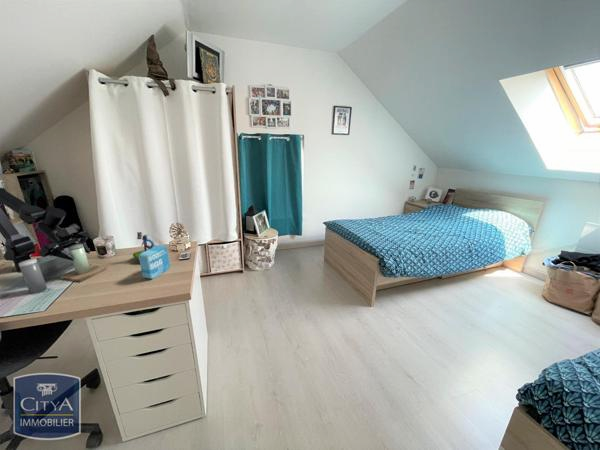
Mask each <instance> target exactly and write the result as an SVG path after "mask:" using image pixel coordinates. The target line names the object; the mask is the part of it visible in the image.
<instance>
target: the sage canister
mask: <svg viewBox="0 0 600 450" xmlns="http://www.w3.org/2000/svg"><path fill="white" fill-rule="evenodd" d="M67 248H68V249H69V252H70V255H71V256H72V257H73V258H74V260H73V264H74V267H75V268H74V270H75V271H76V274H78V275H80V274H85V273H88V272H89V271H90V267H89V265H90V264H89V260H88V258H87V253H86V252H85V250H84V246H83V244H77V243H75V244H70V245H69V246H68V247H67Z"/></svg>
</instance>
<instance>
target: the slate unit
mask: <svg viewBox="0 0 600 450" xmlns="http://www.w3.org/2000/svg"><path fill="white" fill-rule="evenodd" d="M64 250H65V251H66V252H67V253H68V254H70V252H69V249H68V247H66V248H64ZM35 259H37V262H38V264H39V267H40V270H41V273H42V275H43V278H44V281H45V282H46V281H49V280H50V279H52V278H56V277H57V276H61V275H63V274H65V273H68V272H70V271H71V270H73V269H74V270H75V267H74V264H73V261H72V260H68V259H64V258H60V257H56V256H50V255H49V256H46V257H42V256H39V257H37V258H35Z"/></svg>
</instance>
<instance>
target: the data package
mask: <svg viewBox="0 0 600 450" xmlns="http://www.w3.org/2000/svg"><path fill="white" fill-rule="evenodd" d="M146 250H147V251H145V252H143V253H141V254H140V255H139V259H138V260H139V264H140V270H141V275H142V277H143V278H144V279H145V278H146V279H151V280H153V279H155V278H157V277H158V276H160V275H162V274H163V273H164V272H166V271H168V270H169V269H170V267H171V263H170V258H169V252H168V247H167V246H164V245H156V246H155V245H154V246H153V247H152V248H151V249H146Z"/></svg>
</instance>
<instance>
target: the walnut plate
mask: <svg viewBox="0 0 600 450" xmlns="http://www.w3.org/2000/svg"><path fill="white" fill-rule="evenodd" d="M89 267H90V271H89V272H88V273H85V274H80V275H78V274H76V271H75V269H74V270H73V269H72V271H71V270H70V271H67V272H65V273H63V274H61V275H58V276H59V279H60V280H66V281H71V282H77V283H83V282H84V281H86V280H88V279H90V278H92V277H94V276H97V275H98V274H100V273H103V272H105V271H106V270H108V268H107V267H106V266H99V265H93V264H89Z"/></svg>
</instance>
